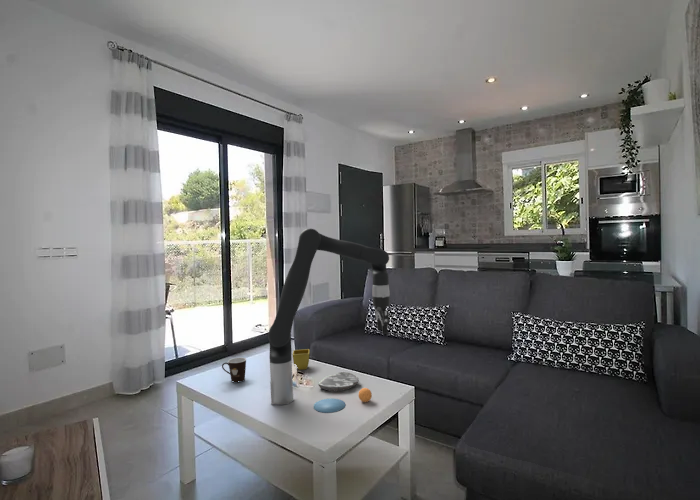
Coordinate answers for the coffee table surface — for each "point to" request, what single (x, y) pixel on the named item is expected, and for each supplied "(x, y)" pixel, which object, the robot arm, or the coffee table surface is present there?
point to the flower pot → (301, 358)
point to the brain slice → (338, 382)
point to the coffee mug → (236, 369)
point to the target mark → (329, 405)
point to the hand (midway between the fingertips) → (382, 331)
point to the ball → (365, 394)
